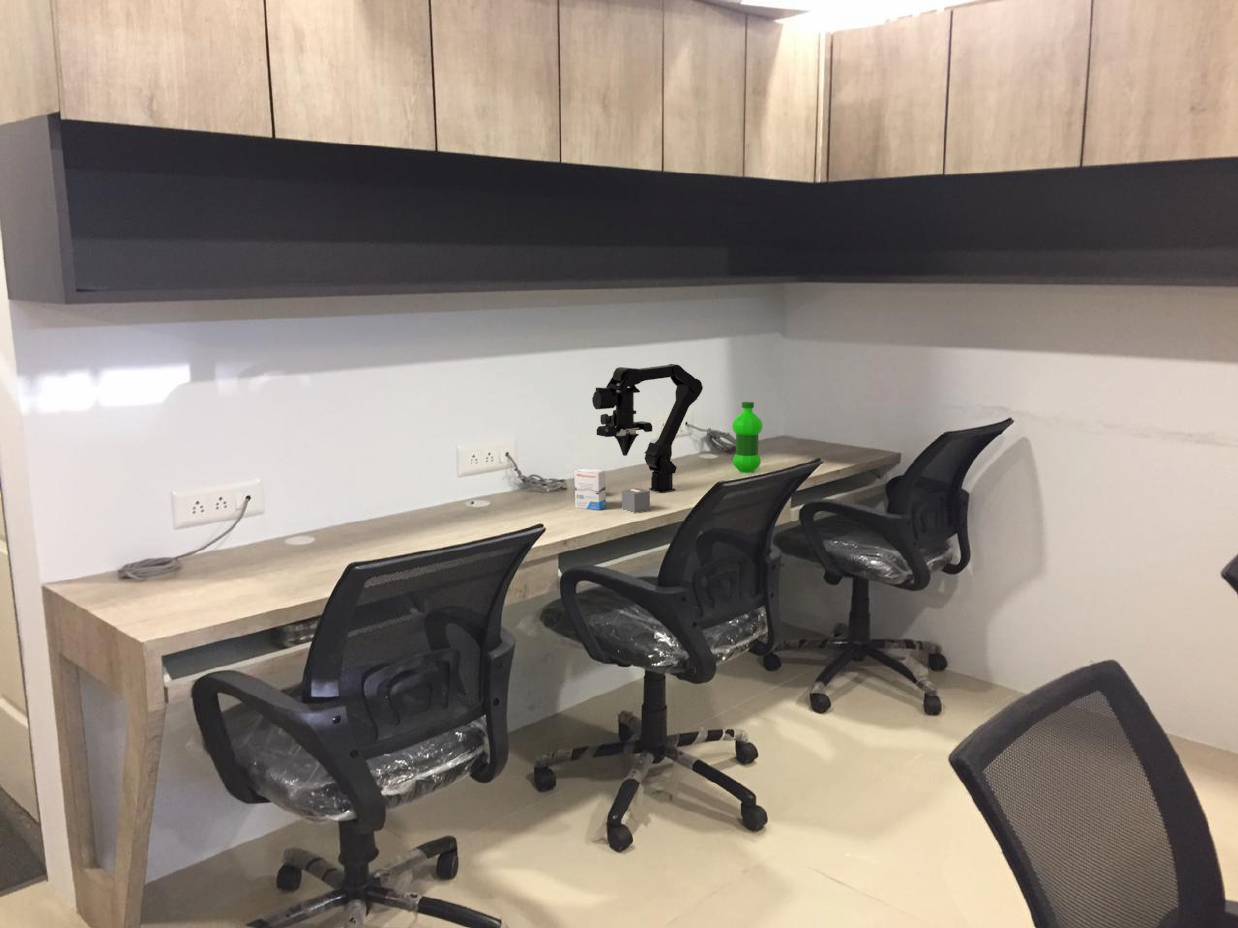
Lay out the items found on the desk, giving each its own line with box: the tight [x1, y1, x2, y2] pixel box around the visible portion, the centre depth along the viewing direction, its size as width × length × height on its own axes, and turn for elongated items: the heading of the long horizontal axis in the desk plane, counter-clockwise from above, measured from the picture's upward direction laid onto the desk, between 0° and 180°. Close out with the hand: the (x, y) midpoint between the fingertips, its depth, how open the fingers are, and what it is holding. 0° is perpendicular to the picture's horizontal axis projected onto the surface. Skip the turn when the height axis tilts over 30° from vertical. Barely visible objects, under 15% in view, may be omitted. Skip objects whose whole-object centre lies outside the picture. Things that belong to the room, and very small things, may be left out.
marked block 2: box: [621, 487, 651, 514], centre depth 298 cm, size 6×6×6 cm
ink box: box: [573, 468, 607, 511], centre depth 301 cm, size 9×5×12 cm, turn 63°
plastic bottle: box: [732, 401, 763, 474], centre depth 354 cm, size 10×10×25 cm
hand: (624, 455), depth 316 cm, fingers closed
